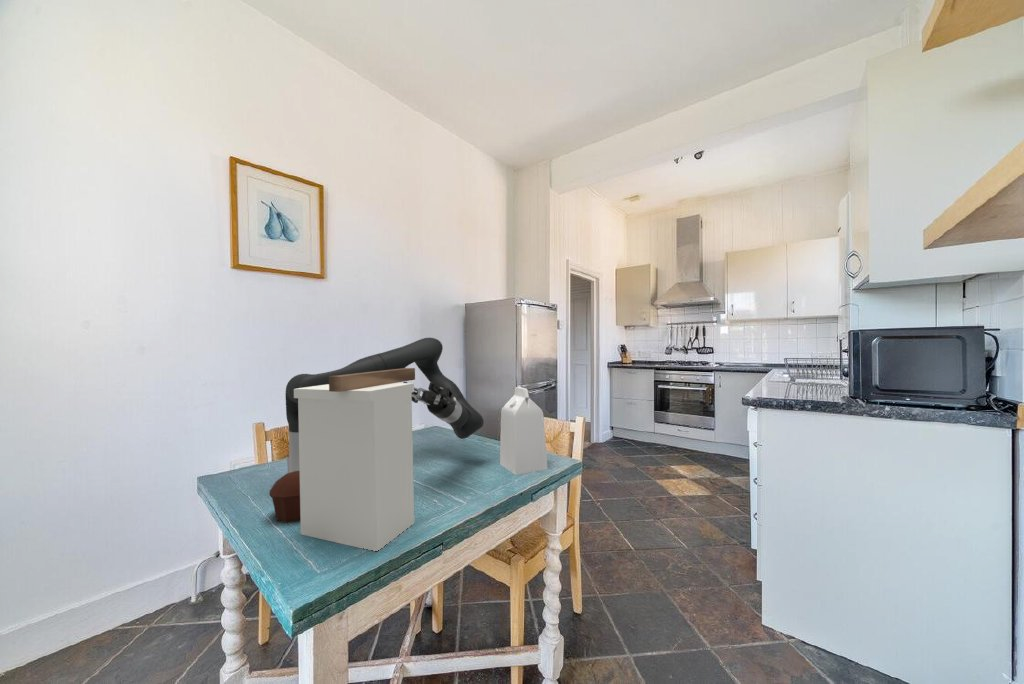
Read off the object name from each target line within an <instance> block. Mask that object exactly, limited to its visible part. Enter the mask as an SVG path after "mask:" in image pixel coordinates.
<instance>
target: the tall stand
mask: <svg viewBox="0 0 1024 684" xmlns="http://www.w3.org/2000/svg"><path fill="white" fill-rule="evenodd" d="M414 387H415V383H413V382H407V383H403V382H398V383H392V384H385V385H379V386H373V387H367V388H361V389H355V390H348V391H342V392H332V391H329V384H327V385H319V386H311V387H304V388H296V389H294V398H298V418H299V468H300V519H301V520H300V535H303V536H305V537H309V538H314V539H320V540H323V541H328V542H331V543H337V544H341V545H345V546H349V547H353V548H354V547H355V548H358V549H363V548H364V549H363V550H366V549H368V550H367V551H371V550H373V551H372V552H375V551H378V550H379V551H380V549H381V548H382V549H383V548H384V546H385V545H386V544H387V545H388V544H390V543H391V542H393V539H394V538H395V539H397V538H398V537H399V536H400V535H401V534H403V533H404V532H405V531H407V530H408V529H409V528H411V527H412V526H414V524H415V496H414V494H415V493H414V491H415V490H414V487H415V486H414V452H413V451H414V447H413V444H414V443H413V410H412V409H413V405H412V403H413V401H412V394H411V393H412V392H414V391H415V390H414ZM411 525H412V526H411ZM410 526H411V527H410ZM407 528H408V529H407ZM406 529H407V530H406ZM403 531H404V532H403ZM402 532H403V533H402ZM399 534H400V535H399ZM398 535H399V536H398ZM397 536H398V537H397ZM395 539H394V540H395ZM390 541H391V542H390ZM389 542H390V543H389ZM387 545H386V546H387ZM386 546H385V547H386ZM382 549H381V550H382ZM379 551H378V552H379Z"/></svg>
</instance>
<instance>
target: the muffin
mask: <svg viewBox="0 0 1024 684" xmlns="http://www.w3.org/2000/svg"><path fill="white" fill-rule="evenodd" d="M269 496H270V498H272V503H273V508H274V514H275V517H276V521H277V522H281V523H292V522H296V521H298V522H299V521H301V519H300V471H294V472H290V473H288V472H287V473H285V474H284V475H282V476H281V477H280V478H278V479H277V480H276V481H275V482H274V484H273V485H272V486H271V488H270V490H269Z"/></svg>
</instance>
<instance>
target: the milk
mask: <svg viewBox="0 0 1024 684" xmlns="http://www.w3.org/2000/svg"><path fill="white" fill-rule="evenodd" d="M544 417H545V416H544V411H543V409H542V408H541V407H540V406H538V405H537V403H535V401H533V400H532V399H531V397H530V395H529V391H528V388H526V387H520V386H518V387H517V386H516V387H515V389H514V393H513V396H512V397H511V398H510V399H509V400H508V401H507V402H506V403H505V404H504V406H502V408H501V411H500V442H499V443H500V444H499V445H500V448H499V449H500V450H499V451H500V452H499V465H500V466H502V467H503V468H504V469H506V470H508V471H509V472H510V473H512V474H513V475H515V476H518V475H523V474H528V473H534V472H539V471H544V470H548V468H549V467H548V457H547V456H548V454H547V445H546V444H547V443H546V442H547V441H546V431H545V419H544Z"/></svg>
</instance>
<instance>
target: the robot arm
mask: <svg viewBox="0 0 1024 684" xmlns="http://www.w3.org/2000/svg"><path fill="white" fill-rule="evenodd" d="M443 349H444V348H443V343H442V342H441V341H440V340H439V339H437V338H435V337H424V338H421V339H419V340H416V341H412V342H411V343H409V344H408V343H407V344H406V345H404V346H401V347H397V348H396V347H395V348H393V349H390V350H386V351H384V352H378V353H375V354H371V355H368V356H365V357H362V358H359V359H357V360H355V361H353V362H351V363H350V364H347V365H346V366H343V367H341V368H339V369H335V370H331V371H326V372H322V373H321V372H320V373H317V374H315V373H314V374H310V373H300V374H297V375H295V376H293V377H291V379H290V380H289V381H288V382H287V384H286V386H285V411H286V412H285V413H286V416H285V417H286V420H287V424H288V446H289V447H288V449H289V452H288V454H289V455H288V456H287V460H286V461H287V462H286V463H287V464H286V465H287V468H286V469H287V474H288V473H290V472H294V471H300V468H299V418H298V398H294V389H296V388H304V387H311V386H319V385H327V384H329V376H337V375H346V374H355V373H365V372H374V371H383V370H392V369H401V368H408V366H410V365H411V364H413V363H415V365H416V366H417V368H418V370H419V371H420V372H421V373H422V374H423V375H424V376H425V378H426V379H427V380H428V381H429V385H428V389H425V388H422V387H419V388H418V387H415V386H414V392H412V393H411V394H412V403H415V404H418V403H419V402H421V403H423V404H424V405H426V407H427V409H428V412H429V413H431V414H432V415H433V416H435V417H436V418H438V419H439V420H441V421H443V422H445V423H446V424H448V425H449V426H451V428H452V430H453V432H454V434H455V435H456V436H457V437H456V438H459V439H462V440H464V439H467V438H468V437H470V436H472V435H473V434H474V433H476V432H477V431H479V430H480V429H481V428H483V426H484V418H483V416H482V415H481V414H480V412H478V411H477V409H475V408H474V407H473V406H471V404H470V403H469V402H468V401H467V399H466V397H465V396H464V394H463V393H462V391H461V389H460V388H459V386H458V385H457V384H456V383H455V381H453V380H451V379H450V378H448V377H447V376H445V375H444V374H443V372H442V371H441V369H440V367H439V364H438V361H439V360H440V358H441V355H442V354H443V353H442V352H443ZM402 383H408V381H404V382H402ZM421 392H422V394H421Z"/></svg>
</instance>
